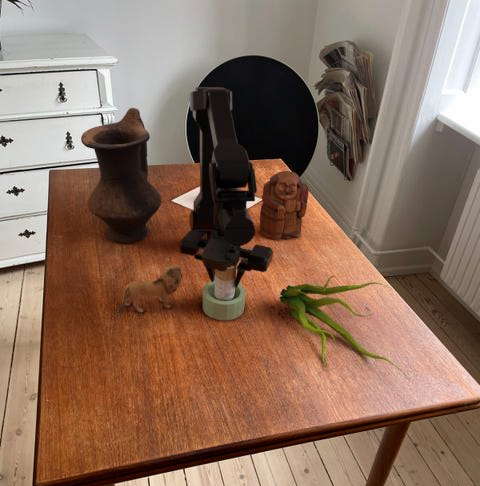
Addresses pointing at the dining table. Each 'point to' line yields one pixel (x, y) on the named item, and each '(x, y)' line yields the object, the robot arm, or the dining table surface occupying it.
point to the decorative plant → (310, 306)
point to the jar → (223, 303)
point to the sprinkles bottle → (225, 284)
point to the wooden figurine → (283, 206)
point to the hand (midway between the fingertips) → (224, 283)
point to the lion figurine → (154, 288)
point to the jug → (122, 178)
